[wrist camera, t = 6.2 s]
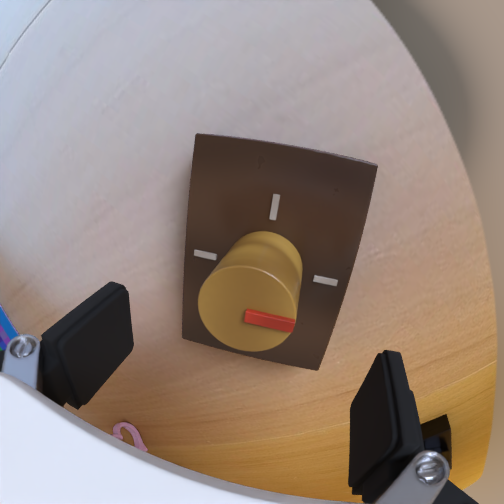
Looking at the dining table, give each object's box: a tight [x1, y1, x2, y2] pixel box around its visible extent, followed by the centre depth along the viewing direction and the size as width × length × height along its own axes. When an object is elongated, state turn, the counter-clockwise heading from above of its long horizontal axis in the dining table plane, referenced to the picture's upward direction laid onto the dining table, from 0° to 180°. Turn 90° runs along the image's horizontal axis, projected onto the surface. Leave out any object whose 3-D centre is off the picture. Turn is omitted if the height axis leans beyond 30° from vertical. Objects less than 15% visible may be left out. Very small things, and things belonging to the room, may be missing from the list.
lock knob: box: [198, 231, 303, 352], centre depth 15 cm, size 4×4×5 cm
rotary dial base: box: [182, 133, 378, 371], centre depth 19 cm, size 14×10×3 cm
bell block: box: [420, 415, 452, 470], centre depth 23 cm, size 12×8×4 cm, turn 29°
